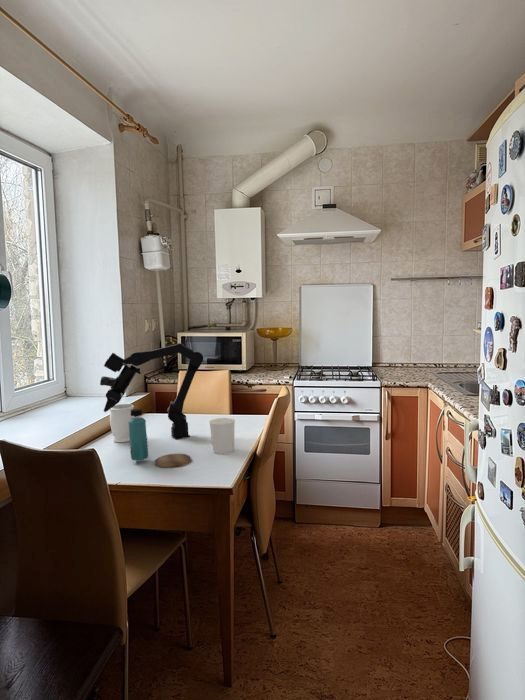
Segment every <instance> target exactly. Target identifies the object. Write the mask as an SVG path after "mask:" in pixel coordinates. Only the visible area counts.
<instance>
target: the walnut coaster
mask: <svg viewBox="0 0 525 700" xmlns="http://www.w3.org/2000/svg"><path fill="white" fill-rule="evenodd" d="M191 461H192V460H191V456H190V455H188V454H186V453H170V454H164V455H161V456H158V457H157V458H155V459H154V466H156V467H158V468H162V469H171V468H172V469H173V468H180V467H182V466H186V465H188V464H189V463H191Z"/></svg>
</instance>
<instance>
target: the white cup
mask: <svg viewBox="0 0 525 700" xmlns="http://www.w3.org/2000/svg"><path fill="white" fill-rule="evenodd" d="M235 422H236V421H235V419H234V418H231V417H230V418H229V417H220V418H215V419H210V420H209V429H210V436H211V437H210V438H211V447H212V452H213V453H214V454H218V455H226V454H231V453H233V452H234V451H235Z"/></svg>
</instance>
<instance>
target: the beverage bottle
mask: <svg viewBox="0 0 525 700" xmlns="http://www.w3.org/2000/svg"><path fill="white" fill-rule="evenodd" d="M131 416H134V417H135V418H132V419H130V421H129V422H128V424H129V437H130V441H129V446H130V447H129V450H130V458H131V460H132V461H135V462H136V461H143V460H146V459H148V458H149V454H150V453H149V444H148V435H147V434H148V433H147V422H146V419H145V418H144V417H142V416H143V411H142V409H141V408H133V410H131Z"/></svg>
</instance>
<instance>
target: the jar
mask: <svg viewBox="0 0 525 700" xmlns="http://www.w3.org/2000/svg"><path fill="white" fill-rule="evenodd" d="M134 407H135V406H134V404H131V403H130V404H129V403H121V404H119V403H118V404H116V405H115V406H113V407H112V408H111V409H109V410H108V411H110V412H109V425H110V428H111V433H112V436H113V437H114V438H113V442H114V443H127V442H130V437H129V424H128V422H129V421H130V419H132V418H135V417H136V416H131V410H133V409H135V408H134Z"/></svg>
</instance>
